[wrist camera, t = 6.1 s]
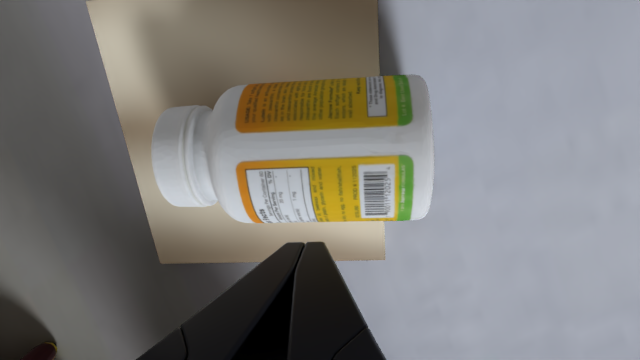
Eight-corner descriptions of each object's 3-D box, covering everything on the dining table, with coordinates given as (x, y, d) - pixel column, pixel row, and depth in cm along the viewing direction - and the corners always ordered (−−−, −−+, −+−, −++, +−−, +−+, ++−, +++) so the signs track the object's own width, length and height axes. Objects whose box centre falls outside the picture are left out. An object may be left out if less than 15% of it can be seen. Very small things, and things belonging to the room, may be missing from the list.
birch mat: (384, 253, 21) (385, 259, 20) (165, 257, 22) (160, 263, 22) (376, -29, 16) (376, -30, 15) (94, 1, 17) (85, 1, 17)
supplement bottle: (414, 92, 18) (202, 103, 19) (433, 52, 12) (136, 71, 13) (417, 214, 18) (205, 218, 19) (439, 228, 12) (140, 232, 13)
